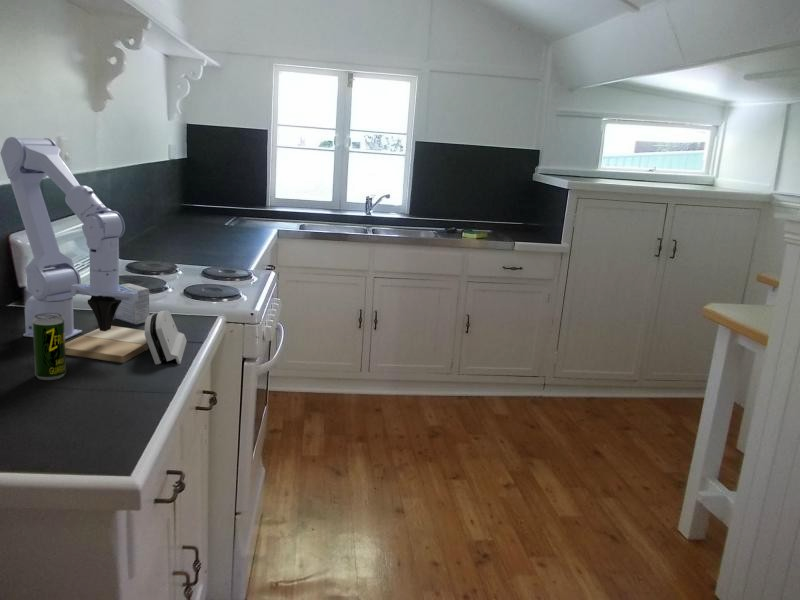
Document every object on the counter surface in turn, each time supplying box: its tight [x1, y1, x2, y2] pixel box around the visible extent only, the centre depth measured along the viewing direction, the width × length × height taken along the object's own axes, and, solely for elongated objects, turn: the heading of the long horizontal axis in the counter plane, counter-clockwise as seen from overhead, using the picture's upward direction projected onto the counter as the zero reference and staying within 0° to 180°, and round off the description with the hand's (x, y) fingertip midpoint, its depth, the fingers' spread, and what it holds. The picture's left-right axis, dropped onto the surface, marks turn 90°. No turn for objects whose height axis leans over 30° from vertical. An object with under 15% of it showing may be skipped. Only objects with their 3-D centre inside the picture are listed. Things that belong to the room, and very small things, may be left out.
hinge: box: [144, 309, 188, 365], centre depth 149 cm, size 17×5×10 cm, turn 12°
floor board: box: [82, 325, 150, 352], centre depth 154 cm, size 15×9×2 cm, turn 80°
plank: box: [65, 335, 145, 364], centre depth 146 cm, size 15×8×2 cm, turn 80°
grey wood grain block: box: [115, 283, 151, 325], centre depth 170 cm, size 8×4×9 cm, turn 58°
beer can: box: [32, 313, 67, 381], centre depth 130 cm, size 5×5×12 cm
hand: (105, 329), depth 148 cm, fingers closed
